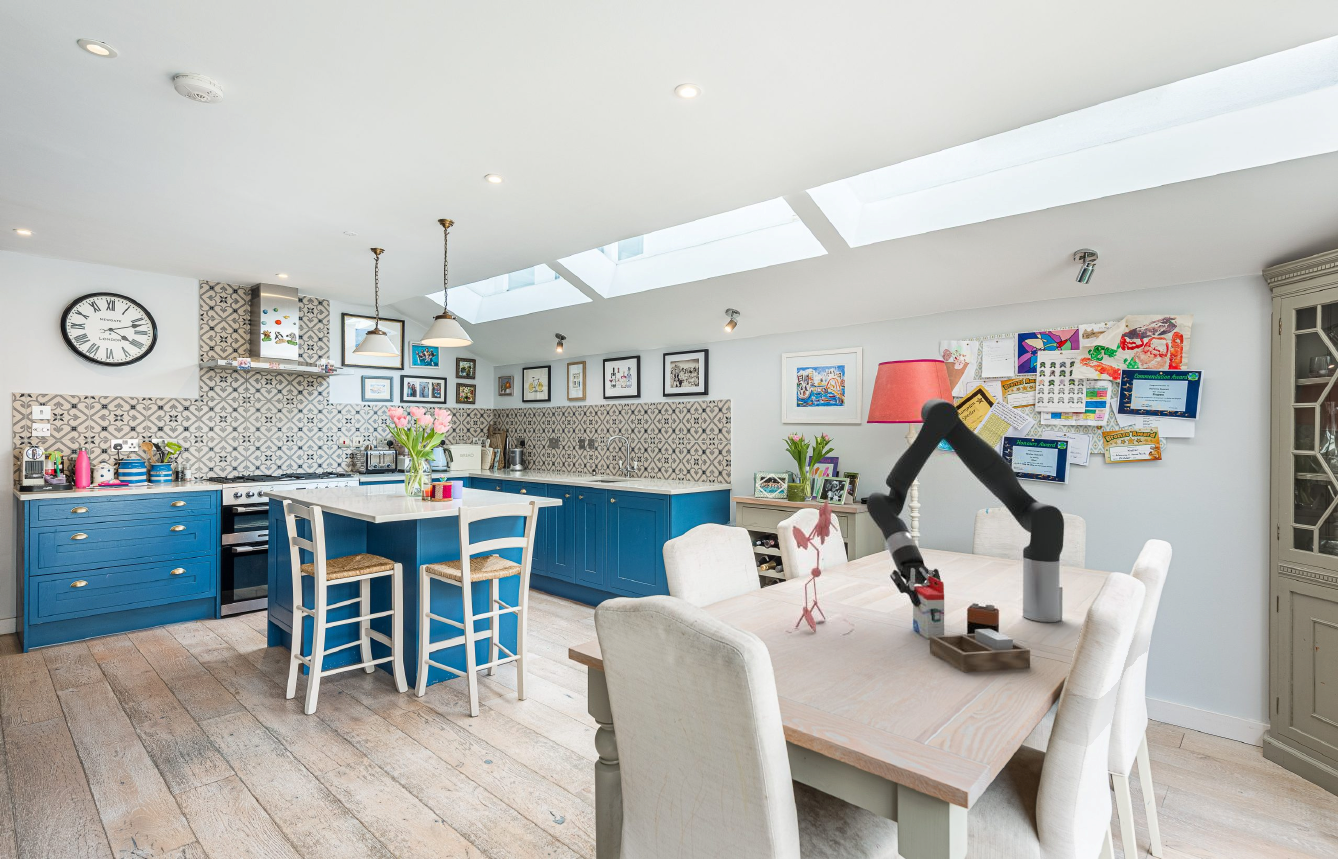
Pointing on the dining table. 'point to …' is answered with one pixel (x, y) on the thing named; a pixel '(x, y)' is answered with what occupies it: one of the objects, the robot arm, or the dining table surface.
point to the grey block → (993, 639)
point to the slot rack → (977, 654)
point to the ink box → (929, 609)
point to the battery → (982, 618)
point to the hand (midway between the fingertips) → (928, 604)
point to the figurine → (802, 540)
